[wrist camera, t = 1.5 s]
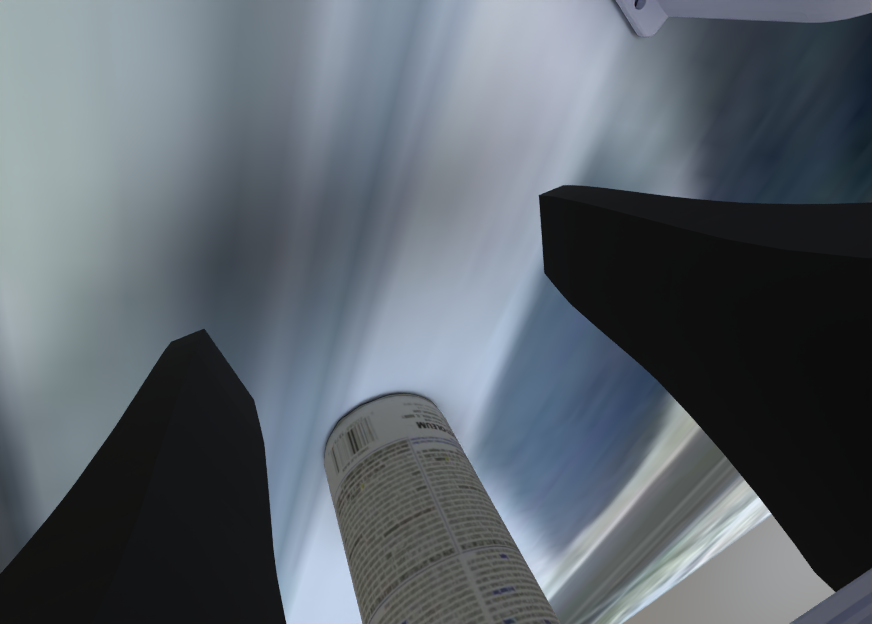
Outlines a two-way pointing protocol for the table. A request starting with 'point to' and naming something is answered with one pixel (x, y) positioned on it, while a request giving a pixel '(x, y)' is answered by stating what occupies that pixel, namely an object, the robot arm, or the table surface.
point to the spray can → (423, 523)
